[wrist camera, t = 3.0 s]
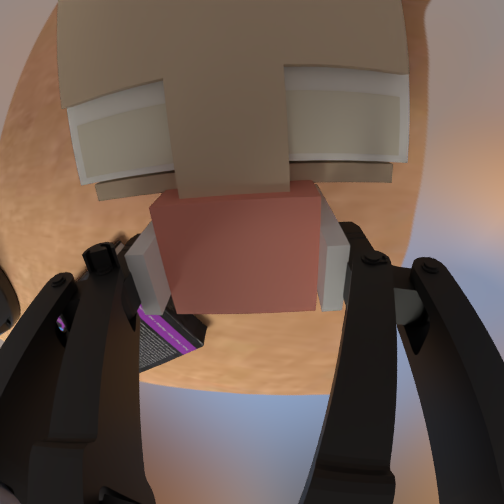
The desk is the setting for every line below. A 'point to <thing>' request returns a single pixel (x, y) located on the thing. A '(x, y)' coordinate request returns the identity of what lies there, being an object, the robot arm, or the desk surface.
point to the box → (163, 332)
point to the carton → (298, 121)
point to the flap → (228, 128)
